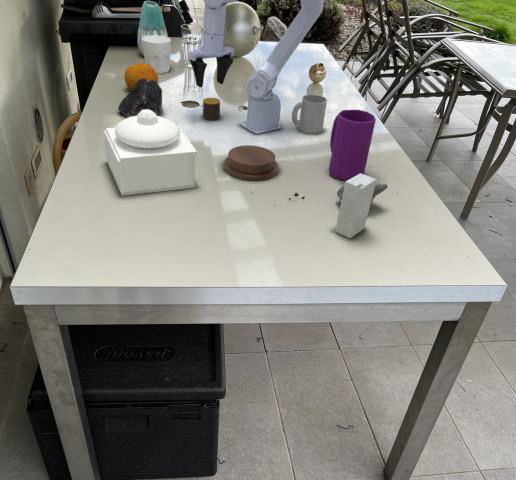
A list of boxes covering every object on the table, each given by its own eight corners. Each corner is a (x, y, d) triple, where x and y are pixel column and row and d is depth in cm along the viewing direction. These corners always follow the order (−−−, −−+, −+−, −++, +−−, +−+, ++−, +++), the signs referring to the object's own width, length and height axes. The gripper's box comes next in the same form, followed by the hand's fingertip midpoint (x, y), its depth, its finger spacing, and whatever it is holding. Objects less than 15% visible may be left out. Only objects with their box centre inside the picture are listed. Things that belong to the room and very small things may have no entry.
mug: (337, 183, 135) (347, 123, 125) (314, 157, 145) (322, 100, 135) (369, 180, 137) (382, 121, 127) (344, 155, 148) (355, 99, 138)
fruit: (134, 83, 179) (131, 57, 173) (163, 88, 177) (162, 62, 172) (119, 92, 171) (117, 65, 166) (150, 98, 170) (148, 71, 164)
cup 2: (325, 134, 158) (330, 103, 152) (293, 134, 156) (297, 103, 150) (318, 124, 163) (322, 94, 157) (287, 125, 161) (290, 94, 155)
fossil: (371, 196, 131) (379, 164, 126) (387, 214, 125) (396, 182, 119) (329, 198, 128) (335, 166, 123) (343, 217, 122) (350, 185, 117)
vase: (175, 58, 204) (173, 3, 192) (151, 62, 197) (148, 6, 185) (156, 50, 209) (153, -3, 197) (132, 55, 203) (127, -1, 190)
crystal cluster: (122, 125, 154) (121, 90, 147) (114, 104, 162) (114, 70, 155) (167, 126, 158) (169, 92, 151) (158, 106, 167) (159, 73, 160)
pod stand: (255, 153, 145) (256, 140, 142) (288, 173, 137) (290, 159, 135) (213, 163, 138) (213, 150, 135) (245, 185, 130) (246, 171, 128)
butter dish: (107, 163, 133) (99, 97, 123) (177, 157, 139) (175, 93, 128) (121, 196, 122) (114, 125, 111) (197, 187, 128) (196, 120, 117)
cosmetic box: (348, 222, 121) (359, 171, 112) (365, 229, 119) (377, 178, 110) (333, 232, 117) (343, 180, 109) (350, 240, 115) (362, 187, 107)
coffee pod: (213, 113, 164) (213, 96, 161) (222, 119, 161) (223, 101, 158) (200, 116, 162) (199, 99, 158) (209, 121, 159) (209, 104, 155)
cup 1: (170, 75, 188) (168, 44, 181) (141, 73, 188) (139, 41, 181) (173, 67, 195) (172, 36, 189) (146, 64, 195) (144, 34, 188)
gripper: (224, 26, 151) (220, 77, 160) (183, 29, 143) (181, 82, 152) (240, 34, 148) (235, 85, 157) (199, 37, 140) (196, 91, 149)
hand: (209, 84), depth 155 cm, fingers open, 7 cm apart
